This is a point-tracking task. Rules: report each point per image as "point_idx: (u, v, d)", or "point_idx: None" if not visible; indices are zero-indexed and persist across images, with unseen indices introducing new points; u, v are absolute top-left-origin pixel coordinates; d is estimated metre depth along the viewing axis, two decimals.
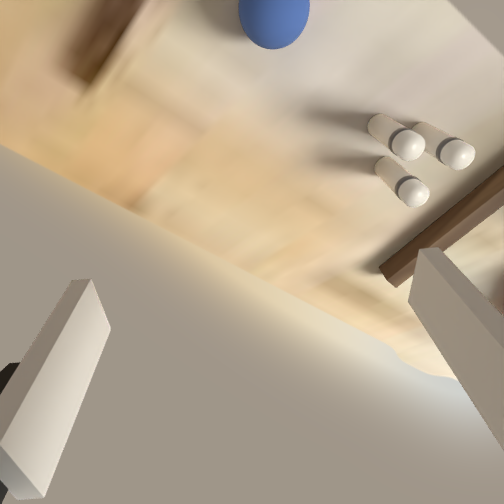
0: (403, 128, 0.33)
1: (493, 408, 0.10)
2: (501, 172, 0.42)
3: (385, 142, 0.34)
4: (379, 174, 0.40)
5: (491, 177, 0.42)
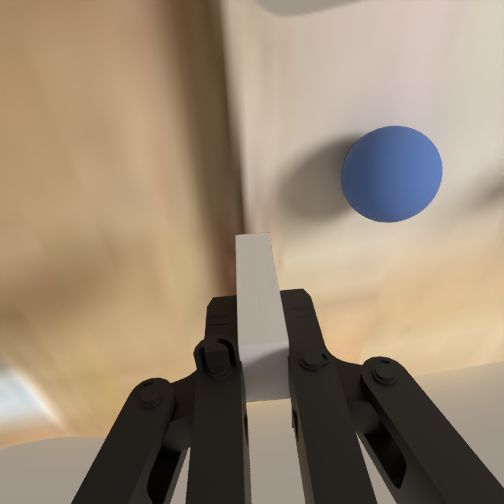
0: None
1: None
2: None
3: None
4: None
5: None
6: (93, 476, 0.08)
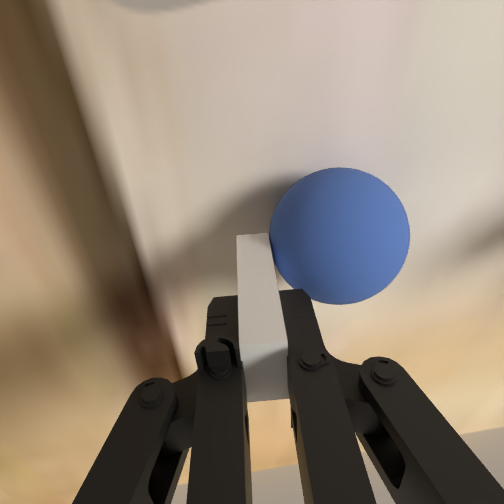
0: None
1: None
2: None
3: None
4: None
5: None
6: (94, 476, 0.08)
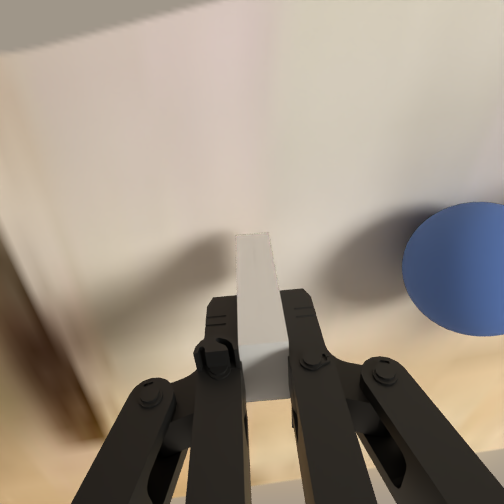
0: None
1: None
2: None
3: None
4: None
5: None
6: (93, 476, 0.08)
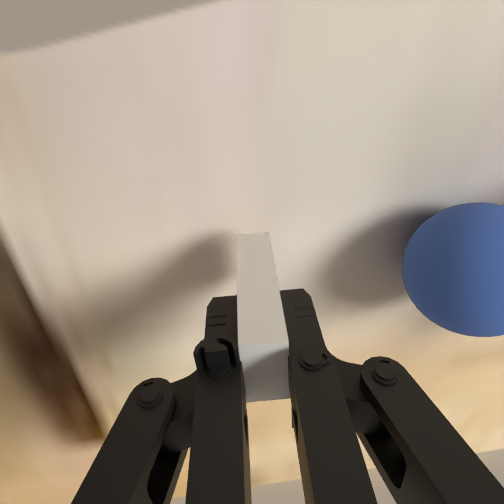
0: None
1: None
2: None
3: None
4: None
5: None
6: (93, 476, 0.08)
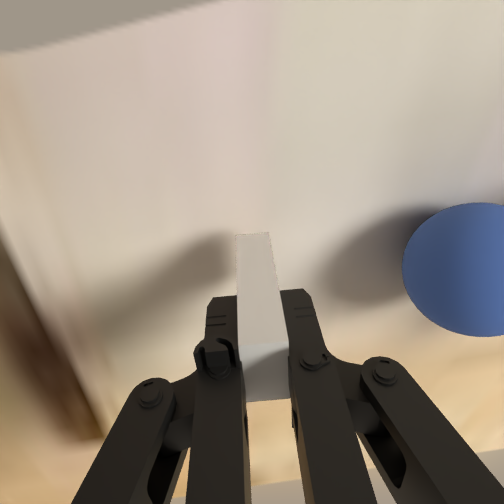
0: None
1: None
2: None
3: None
4: None
5: None
6: (93, 476, 0.08)
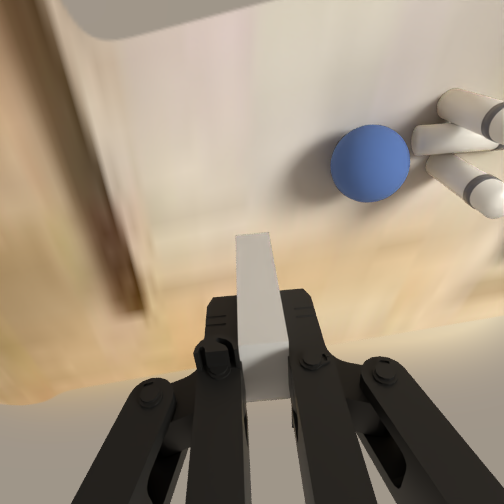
0: None
1: None
2: None
3: (484, 149, 0.29)
4: None
5: None
6: (93, 476, 0.08)
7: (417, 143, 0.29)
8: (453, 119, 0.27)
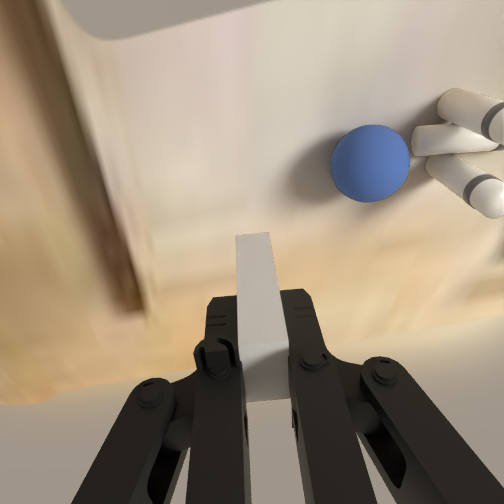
0: None
1: None
2: None
3: (483, 150, 0.29)
4: None
5: None
6: (93, 476, 0.08)
7: (416, 144, 0.30)
8: (453, 119, 0.27)
